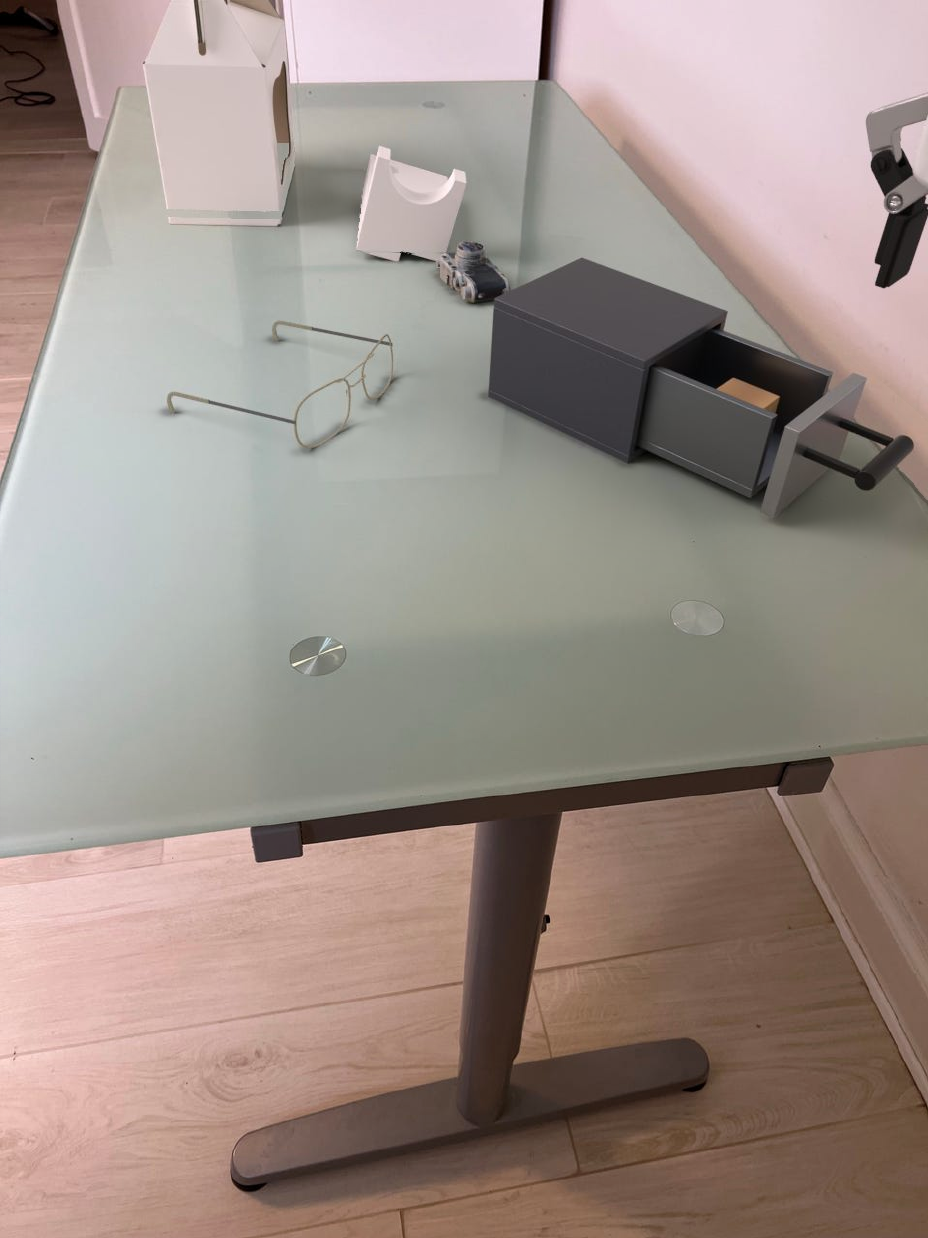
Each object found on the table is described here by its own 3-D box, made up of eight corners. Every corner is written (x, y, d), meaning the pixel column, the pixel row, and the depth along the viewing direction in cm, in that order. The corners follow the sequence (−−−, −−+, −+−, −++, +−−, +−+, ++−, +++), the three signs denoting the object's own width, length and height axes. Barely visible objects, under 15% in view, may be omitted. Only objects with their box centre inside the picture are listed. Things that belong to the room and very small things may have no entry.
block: (767, 442, 83) (780, 396, 80) (740, 463, 81) (753, 416, 78) (721, 422, 85) (733, 377, 82) (694, 442, 83) (705, 395, 80)
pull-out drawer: (904, 488, 81) (938, 404, 75) (841, 550, 74) (874, 463, 69) (692, 398, 90) (709, 318, 85) (620, 446, 84) (634, 363, 79)
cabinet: (705, 409, 91) (728, 310, 84) (627, 464, 84) (645, 360, 77) (570, 351, 98) (581, 256, 92) (487, 397, 91) (493, 297, 84)
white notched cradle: (439, 273, 114) (466, 183, 107) (356, 250, 111) (378, 156, 105) (436, 214, 127) (460, 131, 120) (361, 192, 125) (381, 106, 118)
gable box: (280, 228, 119) (254, -51, 100) (168, 226, 118) (121, -55, 99) (296, 165, 135) (276, -84, 116) (198, 163, 134) (162, -88, 115)
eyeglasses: (311, 460, 82) (307, 407, 79) (168, 413, 87) (158, 361, 84) (405, 378, 93) (405, 328, 90) (273, 339, 98) (268, 291, 94)
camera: (467, 309, 104) (468, 270, 101) (432, 270, 111) (432, 233, 108) (510, 302, 106) (513, 264, 103) (473, 264, 113) (475, 227, 110)
